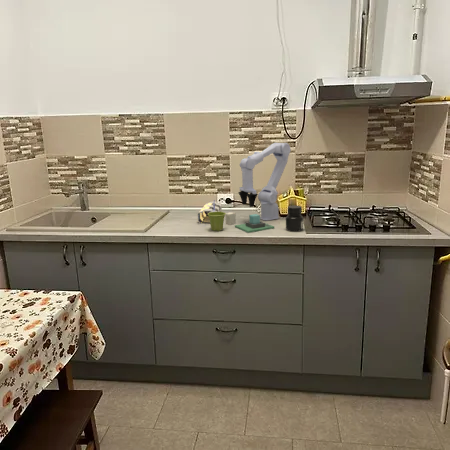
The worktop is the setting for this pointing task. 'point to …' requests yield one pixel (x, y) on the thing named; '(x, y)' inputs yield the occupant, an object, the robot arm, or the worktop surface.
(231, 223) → the offwhite plug
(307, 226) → the worktop surface
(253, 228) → the board
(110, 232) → the worktop surface
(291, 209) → the ink bottle
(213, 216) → the plant pot
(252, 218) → the teal plug
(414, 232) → the worktop surface
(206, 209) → the yellow striped curved piece
